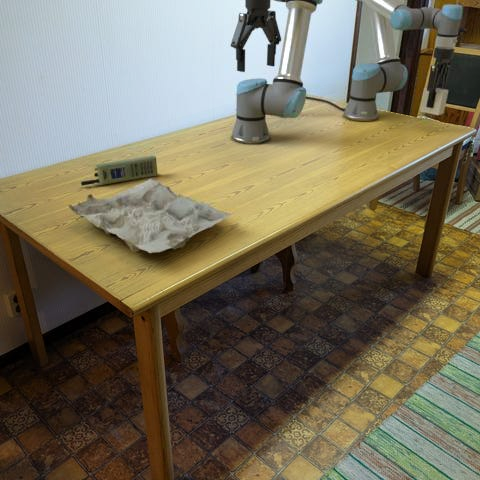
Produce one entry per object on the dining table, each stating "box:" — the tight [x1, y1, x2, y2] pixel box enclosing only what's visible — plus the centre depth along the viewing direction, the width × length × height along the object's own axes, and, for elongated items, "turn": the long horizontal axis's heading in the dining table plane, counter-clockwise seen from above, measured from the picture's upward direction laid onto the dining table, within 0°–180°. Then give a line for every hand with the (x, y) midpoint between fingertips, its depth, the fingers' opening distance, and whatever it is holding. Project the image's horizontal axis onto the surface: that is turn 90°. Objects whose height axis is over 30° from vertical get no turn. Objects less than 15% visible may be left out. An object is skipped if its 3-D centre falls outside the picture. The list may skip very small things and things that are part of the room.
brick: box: [419, 87, 449, 116], centre depth 211 cm, size 5×8×10 cm, turn 45°
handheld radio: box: [80, 155, 159, 187], centre depth 164 cm, size 7×3×25 cm
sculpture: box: [68, 178, 232, 254], centre depth 138 cm, size 38×6×30 cm
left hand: (256, 68), depth 161 cm, fingers open, 13 cm apart
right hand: (432, 106), depth 212 cm, fingers closed on brick, 5 cm apart
